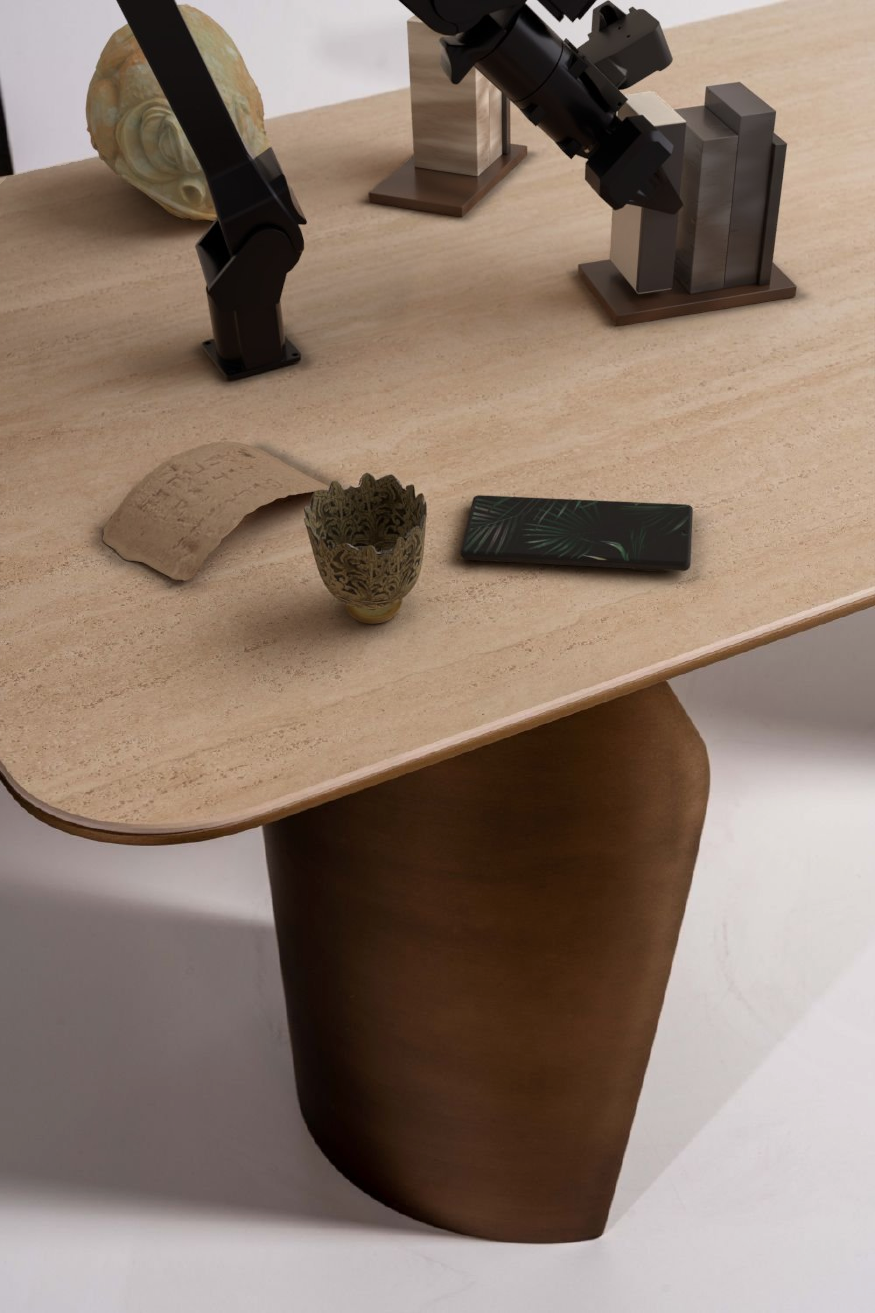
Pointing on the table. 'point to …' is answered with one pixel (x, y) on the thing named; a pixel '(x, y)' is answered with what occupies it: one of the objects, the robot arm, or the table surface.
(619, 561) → the smartphone
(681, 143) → the white book
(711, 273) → the grey book shelf
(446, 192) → the white book shelf
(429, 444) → the table surface
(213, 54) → the sculpture
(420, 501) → the cup
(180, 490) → the clay tablet
